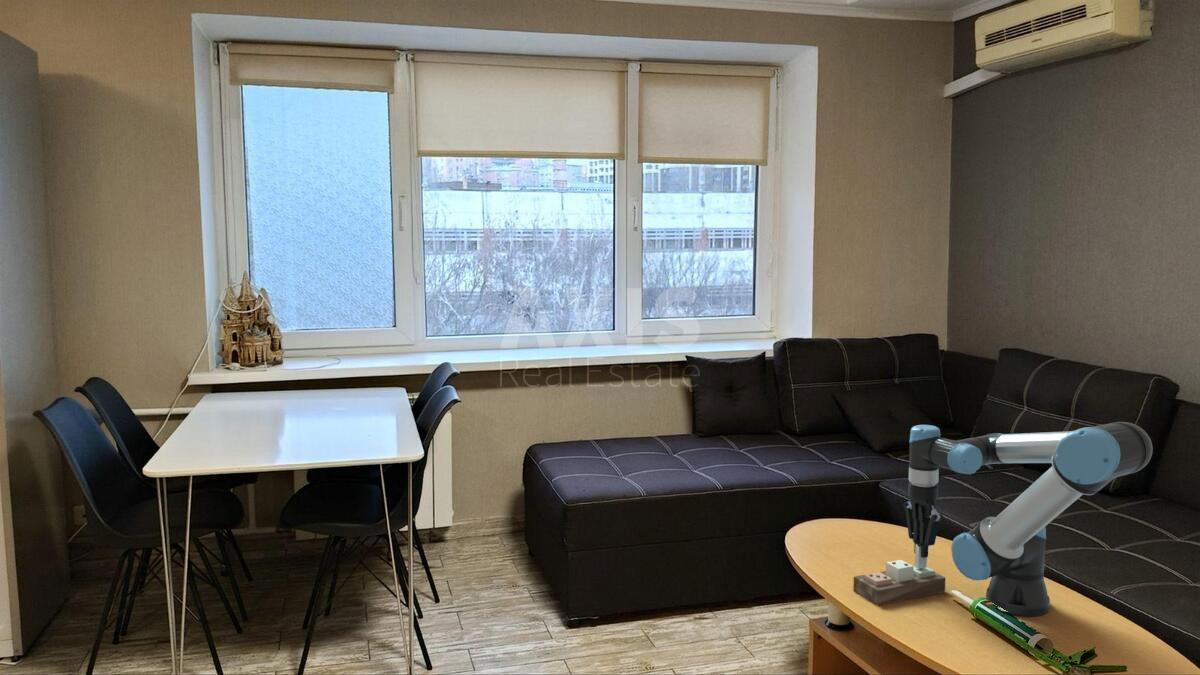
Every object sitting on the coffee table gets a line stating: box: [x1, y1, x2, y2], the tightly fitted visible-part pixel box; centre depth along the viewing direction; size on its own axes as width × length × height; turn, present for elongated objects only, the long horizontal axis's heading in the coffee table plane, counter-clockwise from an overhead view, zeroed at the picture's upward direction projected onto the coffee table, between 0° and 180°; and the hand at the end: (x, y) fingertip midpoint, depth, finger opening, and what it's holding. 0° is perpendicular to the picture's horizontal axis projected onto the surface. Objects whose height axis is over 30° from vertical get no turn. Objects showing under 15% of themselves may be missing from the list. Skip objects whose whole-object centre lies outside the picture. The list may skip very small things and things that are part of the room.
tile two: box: [885, 559, 915, 582], centre depth 244 cm, size 5×5×5 cm
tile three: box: [863, 571, 892, 586], centre depth 242 cm, size 5×5×5 cm
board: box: [852, 570, 946, 606], centre depth 244 cm, size 10×22×4 cm, turn 111°
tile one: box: [913, 565, 936, 578], centre depth 247 cm, size 5×5×5 cm
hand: (920, 567), depth 246 cm, fingers closed
